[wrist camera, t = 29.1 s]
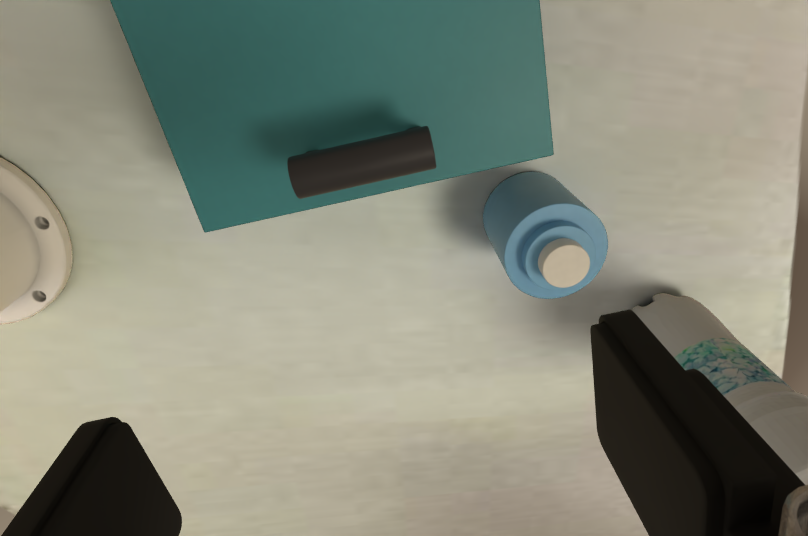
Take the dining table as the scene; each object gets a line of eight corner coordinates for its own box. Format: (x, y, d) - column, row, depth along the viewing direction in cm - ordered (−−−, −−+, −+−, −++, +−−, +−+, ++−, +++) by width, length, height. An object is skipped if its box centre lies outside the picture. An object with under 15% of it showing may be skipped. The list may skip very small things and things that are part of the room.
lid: (549, 151, 27) (585, 178, 22) (208, 227, 27) (174, 268, 23) (507, -289, 19) (547, -387, 15) (49, -169, 20) (-47, -226, 16)
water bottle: (489, 262, 37) (518, 324, 30) (477, 182, 35) (505, 228, 27) (572, 244, 37) (623, 302, 30) (566, 162, 34) (620, 203, 27)
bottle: (614, 365, 42) (795, 629, 24) (610, 293, 39) (814, 533, 21) (699, 347, 42) (947, 601, 24) (701, 273, 39) (986, 500, 21)
